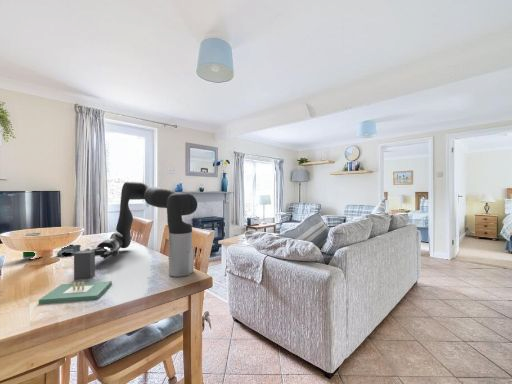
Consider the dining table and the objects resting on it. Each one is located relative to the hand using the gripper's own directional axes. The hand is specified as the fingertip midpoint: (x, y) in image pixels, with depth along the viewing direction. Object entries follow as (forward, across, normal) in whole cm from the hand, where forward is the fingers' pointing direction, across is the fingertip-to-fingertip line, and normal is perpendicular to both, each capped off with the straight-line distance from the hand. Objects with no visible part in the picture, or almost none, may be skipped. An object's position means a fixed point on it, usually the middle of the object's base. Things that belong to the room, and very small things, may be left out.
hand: (93, 256), depth 102 cm
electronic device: (-32, -25, +6) cm, 41 cm away
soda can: (-25, -37, +6) cm, 45 cm away
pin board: (+23, +5, +6) cm, 24 cm away
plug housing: (+7, 0, +6) cm, 9 cm away
